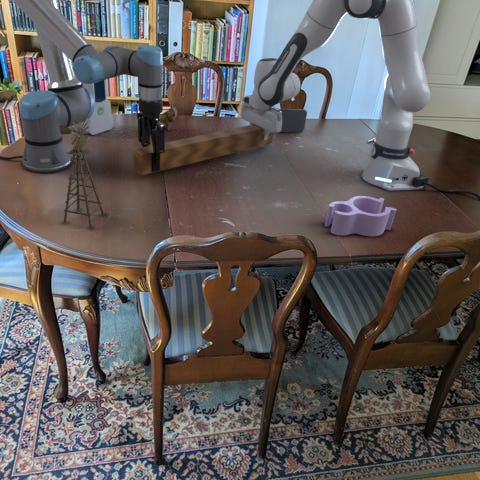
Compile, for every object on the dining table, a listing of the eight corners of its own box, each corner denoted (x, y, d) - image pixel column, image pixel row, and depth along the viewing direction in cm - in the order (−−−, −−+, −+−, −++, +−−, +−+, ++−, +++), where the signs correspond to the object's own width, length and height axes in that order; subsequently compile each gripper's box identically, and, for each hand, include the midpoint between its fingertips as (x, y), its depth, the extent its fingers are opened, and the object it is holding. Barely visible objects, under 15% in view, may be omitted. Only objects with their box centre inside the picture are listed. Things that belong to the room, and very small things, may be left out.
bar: (141, 175, 154) (141, 154, 150) (134, 169, 157) (133, 149, 153) (272, 143, 189) (274, 125, 185) (263, 139, 192) (265, 121, 188)
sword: (405, 131, 224) (406, 128, 224) (410, 133, 222) (411, 130, 222) (362, 142, 208) (362, 140, 208) (367, 144, 206) (368, 142, 206)
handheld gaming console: (301, 129, 213) (305, 108, 208) (304, 131, 211) (308, 110, 205) (254, 131, 206) (257, 108, 200) (257, 133, 204) (259, 110, 198)
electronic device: (90, 136, 184) (84, 56, 167) (77, 131, 187) (69, 52, 170) (113, 128, 193) (109, 52, 177) (100, 123, 196) (95, 48, 180)
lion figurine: (175, 126, 202) (175, 105, 197) (178, 130, 198) (178, 109, 193) (141, 127, 197) (140, 106, 192) (143, 131, 193) (143, 110, 188)
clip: (337, 240, 135) (342, 219, 131) (318, 218, 145) (322, 198, 141) (395, 233, 141) (402, 213, 137) (373, 213, 151) (378, 194, 147)
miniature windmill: (90, 229, 128) (80, 122, 112) (62, 223, 129) (47, 117, 113) (105, 213, 136) (97, 111, 119) (78, 208, 137) (67, 106, 120)
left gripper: (177, 105, 142) (175, 175, 155) (145, 90, 153) (146, 156, 166) (155, 108, 138) (156, 180, 151) (125, 92, 149) (128, 160, 162)
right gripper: (288, 108, 174) (283, 144, 182) (251, 94, 187) (248, 127, 194) (276, 111, 171) (271, 146, 178) (239, 96, 183) (236, 130, 190)
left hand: (151, 167), depth 158 cm, fingers closed on bar, 5 cm apart
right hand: (259, 136), depth 186 cm, fingers closed on bar, 5 cm apart
